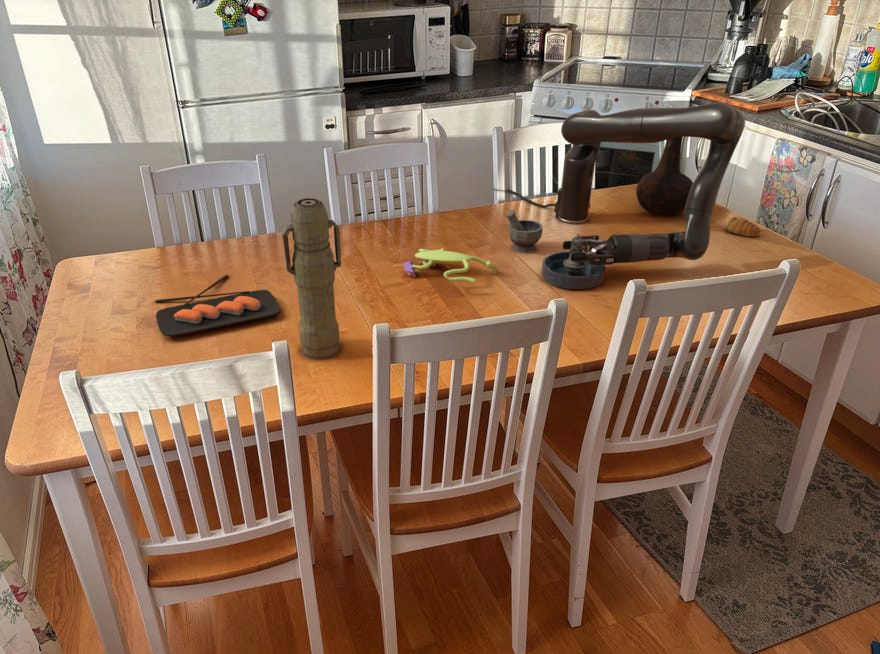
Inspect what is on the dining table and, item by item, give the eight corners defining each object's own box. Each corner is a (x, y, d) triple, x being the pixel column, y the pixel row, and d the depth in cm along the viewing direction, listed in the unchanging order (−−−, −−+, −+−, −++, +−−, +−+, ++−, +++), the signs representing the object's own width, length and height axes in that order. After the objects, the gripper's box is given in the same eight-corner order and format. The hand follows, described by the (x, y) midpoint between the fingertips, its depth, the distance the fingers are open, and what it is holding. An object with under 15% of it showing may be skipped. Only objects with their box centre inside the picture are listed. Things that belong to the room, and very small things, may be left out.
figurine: (464, 300, 185) (465, 281, 182) (388, 271, 201) (387, 252, 198) (506, 276, 197) (508, 257, 194) (431, 250, 212) (431, 232, 209)
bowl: (530, 279, 195) (531, 265, 193) (560, 259, 206) (562, 246, 203) (584, 297, 186) (586, 282, 184) (613, 275, 197) (615, 262, 194)
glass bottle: (649, 223, 228) (665, 132, 213) (623, 203, 242) (636, 117, 228) (701, 218, 231) (720, 128, 216) (672, 199, 245) (688, 114, 230)
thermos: (290, 345, 168) (273, 199, 149) (338, 334, 172) (328, 191, 153) (301, 364, 161) (285, 213, 142) (351, 352, 165) (342, 204, 146)
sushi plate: (163, 344, 169) (160, 330, 167) (146, 291, 192) (144, 278, 190) (284, 318, 179) (283, 305, 177) (254, 271, 202) (253, 258, 200)
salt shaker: (559, 271, 198) (564, 229, 191) (580, 270, 198) (585, 228, 192) (565, 280, 193) (570, 238, 186) (587, 279, 193) (592, 237, 187)
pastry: (763, 233, 219) (766, 221, 217) (753, 240, 215) (756, 228, 213) (732, 225, 225) (735, 213, 223) (722, 231, 221) (725, 219, 219)
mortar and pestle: (532, 240, 218) (536, 201, 211) (546, 252, 210) (550, 212, 204) (497, 244, 215) (500, 205, 209) (509, 257, 208) (512, 217, 201)
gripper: (621, 224, 197) (561, 227, 196) (640, 246, 185) (576, 249, 184) (617, 250, 201) (558, 253, 200) (635, 273, 189) (573, 275, 188)
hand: (567, 251), depth 192 cm, fingers open, 7 cm apart
